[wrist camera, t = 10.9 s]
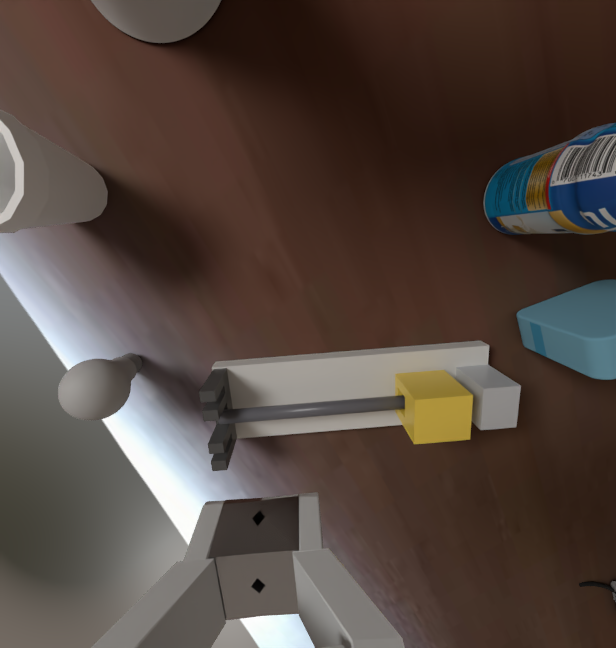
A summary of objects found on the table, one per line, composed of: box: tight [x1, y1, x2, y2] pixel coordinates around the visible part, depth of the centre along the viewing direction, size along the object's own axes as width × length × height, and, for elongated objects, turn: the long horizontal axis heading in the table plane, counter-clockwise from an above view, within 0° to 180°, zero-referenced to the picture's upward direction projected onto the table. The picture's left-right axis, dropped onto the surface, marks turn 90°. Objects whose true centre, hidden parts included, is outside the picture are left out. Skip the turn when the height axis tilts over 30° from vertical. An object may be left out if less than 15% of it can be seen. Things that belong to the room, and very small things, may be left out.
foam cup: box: [0, 109, 108, 233], centre depth 28 cm, size 10×9×13 cm
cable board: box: [199, 341, 521, 471], centre depth 38 cm, size 10×34×8 cm, turn 94°
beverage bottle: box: [483, 123, 616, 235], centre depth 27 cm, size 8×8×20 cm
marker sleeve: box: [395, 370, 473, 444], centre depth 36 cm, size 5×6×7 cm
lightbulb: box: [58, 353, 142, 420], centre depth 34 cm, size 6×6×11 cm
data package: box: [517, 280, 616, 380], centre depth 34 cm, size 12×4×12 cm, turn 112°
